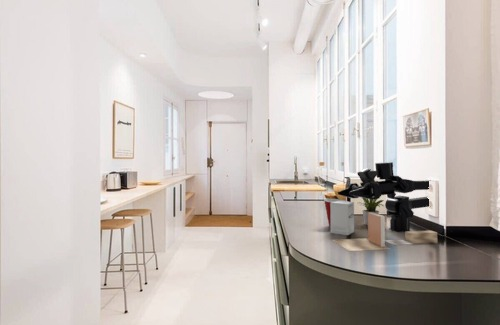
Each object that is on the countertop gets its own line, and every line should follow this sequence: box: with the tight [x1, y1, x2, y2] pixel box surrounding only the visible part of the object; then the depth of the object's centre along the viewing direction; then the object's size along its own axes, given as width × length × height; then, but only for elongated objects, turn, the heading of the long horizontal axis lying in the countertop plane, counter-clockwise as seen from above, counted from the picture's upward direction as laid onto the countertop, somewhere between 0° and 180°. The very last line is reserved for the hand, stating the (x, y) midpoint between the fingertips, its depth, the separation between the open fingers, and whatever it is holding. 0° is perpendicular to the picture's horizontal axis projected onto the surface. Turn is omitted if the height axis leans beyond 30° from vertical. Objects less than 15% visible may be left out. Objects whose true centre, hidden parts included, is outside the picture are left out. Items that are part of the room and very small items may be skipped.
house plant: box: [358, 197, 385, 226], centre depth 139 cm, size 14×14×16 cm
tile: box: [367, 212, 386, 247], centre depth 104 cm, size 2×8×10 cm, turn 8°
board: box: [332, 237, 391, 252], centre depth 104 cm, size 14×14×1 cm
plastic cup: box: [323, 198, 349, 228], centre depth 135 cm, size 11×11×12 cm
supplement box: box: [330, 200, 355, 236], centre depth 122 cm, size 7×7×13 cm
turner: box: [385, 230, 438, 246], centre depth 106 cm, size 17×6×4 cm, turn 97°
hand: (343, 193), depth 120 cm, fingers open, 9 cm apart
